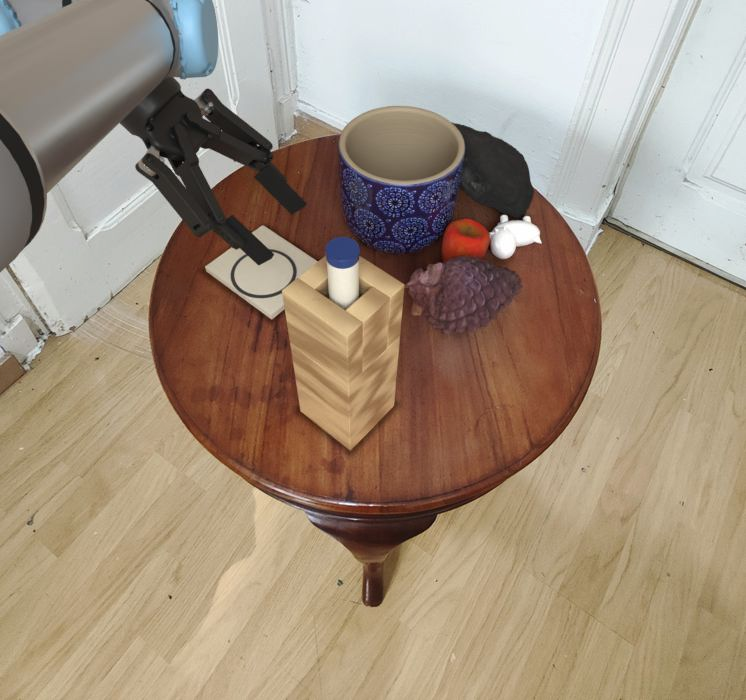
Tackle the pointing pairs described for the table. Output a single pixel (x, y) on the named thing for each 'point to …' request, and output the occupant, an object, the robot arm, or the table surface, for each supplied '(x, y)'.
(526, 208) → the rock
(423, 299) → the pine cone
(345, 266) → the marker
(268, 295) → the drawing board
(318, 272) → the pen block
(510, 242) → the toy creature
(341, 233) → the table surface
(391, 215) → the planter
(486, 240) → the apple
